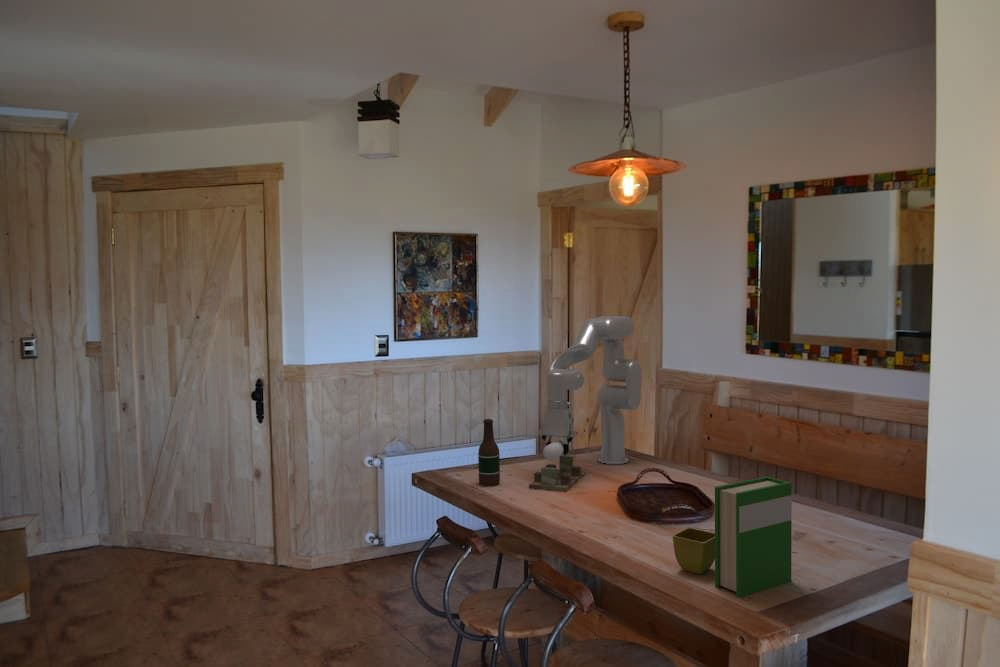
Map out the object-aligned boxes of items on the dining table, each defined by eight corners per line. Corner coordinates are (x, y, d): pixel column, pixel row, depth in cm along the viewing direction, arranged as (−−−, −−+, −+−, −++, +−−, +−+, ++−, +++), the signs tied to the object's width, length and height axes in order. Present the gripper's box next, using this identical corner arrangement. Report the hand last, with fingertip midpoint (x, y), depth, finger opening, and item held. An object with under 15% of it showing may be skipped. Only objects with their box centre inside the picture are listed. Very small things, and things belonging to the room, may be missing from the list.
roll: (557, 451, 289) (556, 436, 288) (571, 452, 286) (570, 437, 286) (543, 460, 274) (542, 444, 274) (558, 460, 272) (557, 445, 271)
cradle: (551, 472, 295) (550, 453, 295) (585, 475, 290) (585, 456, 289) (528, 488, 272) (528, 468, 272) (566, 491, 267) (565, 470, 266)
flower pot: (720, 569, 191) (720, 533, 190) (704, 579, 184) (704, 542, 184) (688, 561, 197) (688, 527, 196) (671, 570, 190) (671, 535, 190)
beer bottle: (499, 486, 275) (498, 421, 274) (478, 487, 276) (477, 421, 274) (500, 481, 283) (499, 417, 282) (479, 481, 283) (478, 417, 282)
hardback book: (739, 597, 173) (739, 493, 172) (715, 587, 179) (714, 486, 178) (791, 581, 182) (791, 482, 181) (766, 572, 188) (766, 476, 187)
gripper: (582, 404, 279) (582, 453, 280) (538, 402, 286) (538, 450, 287) (576, 407, 272) (577, 457, 273) (531, 405, 279) (532, 454, 280)
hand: (557, 453), depth 280 cm, fingers closed on roll, 5 cm apart
